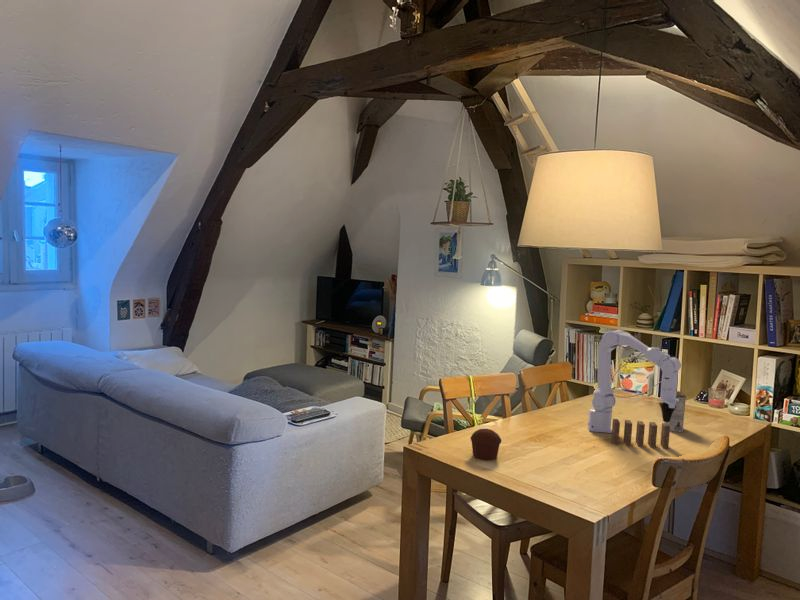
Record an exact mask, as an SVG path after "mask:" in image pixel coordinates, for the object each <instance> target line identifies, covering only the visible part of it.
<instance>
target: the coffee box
mask: <svg viewBox="0 0 800 600" xmlns="http://www.w3.org/2000/svg"><path fill="white" fill-rule="evenodd" d="M676 399H678V400H679V402H676V403H675V406H676V408H675V410H674V411H673V413H672V416H671V419H670V422H664V421H663V423H667V424H668V425H669V426H670V432H676V431H678V432H679V433H683V432H684V431H683V429H684V420H685V412H686V411H685V409H686V399H687V396H686V395H685V394H684V392H682V391H679V390H678V391H676Z"/></svg>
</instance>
